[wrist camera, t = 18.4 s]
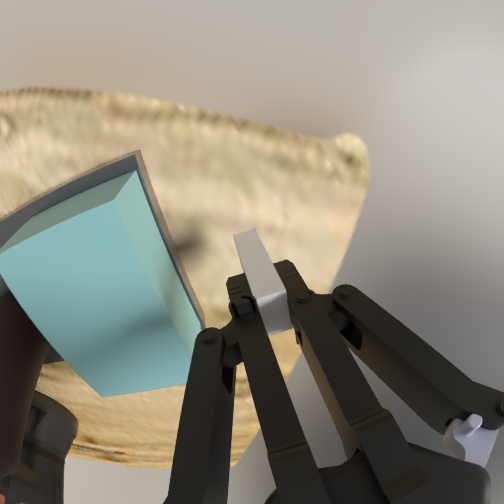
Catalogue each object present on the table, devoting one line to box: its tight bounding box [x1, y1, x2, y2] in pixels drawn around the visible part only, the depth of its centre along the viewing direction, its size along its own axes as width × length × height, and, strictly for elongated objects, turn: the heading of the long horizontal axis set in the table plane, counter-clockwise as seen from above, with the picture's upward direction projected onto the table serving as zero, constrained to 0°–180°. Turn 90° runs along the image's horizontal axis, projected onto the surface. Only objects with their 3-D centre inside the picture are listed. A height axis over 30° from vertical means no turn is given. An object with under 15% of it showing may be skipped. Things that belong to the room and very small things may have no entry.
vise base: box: [0, 150, 206, 364], centre depth 17 cm, size 28×16×8 cm, turn 103°
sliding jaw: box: [0, 170, 201, 397], centre depth 17 cm, size 10×14×6 cm
